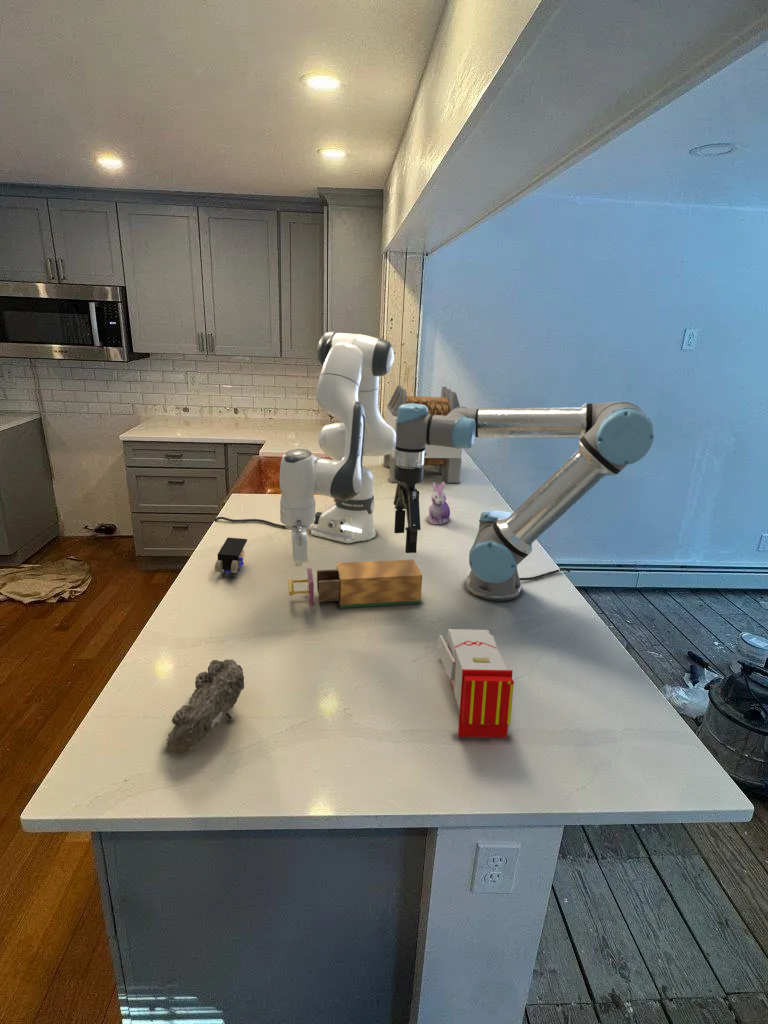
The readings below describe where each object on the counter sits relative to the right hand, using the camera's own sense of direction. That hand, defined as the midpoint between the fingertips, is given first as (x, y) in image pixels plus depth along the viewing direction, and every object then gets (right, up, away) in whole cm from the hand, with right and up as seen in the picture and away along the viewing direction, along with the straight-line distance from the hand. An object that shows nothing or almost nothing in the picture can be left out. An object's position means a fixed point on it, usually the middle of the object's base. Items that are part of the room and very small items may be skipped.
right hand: (404, 542), depth 152 cm
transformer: (+12, +27, +123) cm, 127 cm away
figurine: (+15, +5, +62) cm, 64 cm away
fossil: (-38, -31, -44) cm, 66 cm away
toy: (+12, -30, -33) cm, 46 cm away
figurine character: (-50, -9, +16) cm, 54 cm away
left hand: (-28, -5, -4) cm, 29 cm away
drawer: (-18, -15, +2) cm, 23 cm away
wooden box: (-7, -15, +4) cm, 17 cm away
